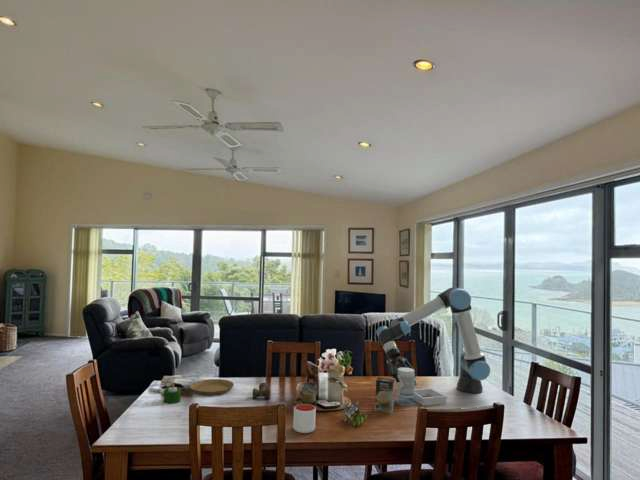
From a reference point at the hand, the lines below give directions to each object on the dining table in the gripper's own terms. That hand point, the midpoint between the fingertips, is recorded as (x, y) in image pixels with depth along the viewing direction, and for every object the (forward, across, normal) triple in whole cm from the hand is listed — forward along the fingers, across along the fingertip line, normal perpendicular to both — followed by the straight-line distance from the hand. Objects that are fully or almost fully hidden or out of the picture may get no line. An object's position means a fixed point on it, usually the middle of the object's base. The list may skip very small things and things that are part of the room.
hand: (409, 386), depth 237 cm
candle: (-31, +115, -46) cm, 127 cm away
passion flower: (+14, +43, 0) cm, 45 cm away
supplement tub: (+2, 0, -7) cm, 7 cm away
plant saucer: (-38, +90, -53) cm, 112 cm away
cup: (+12, +69, -2) cm, 70 cm away
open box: (+6, -14, -7) cm, 17 cm away
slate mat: (+5, 0, -9) cm, 10 cm away
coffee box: (+9, +19, -5) cm, 22 cm away
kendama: (-23, +68, -38) cm, 82 cm away
